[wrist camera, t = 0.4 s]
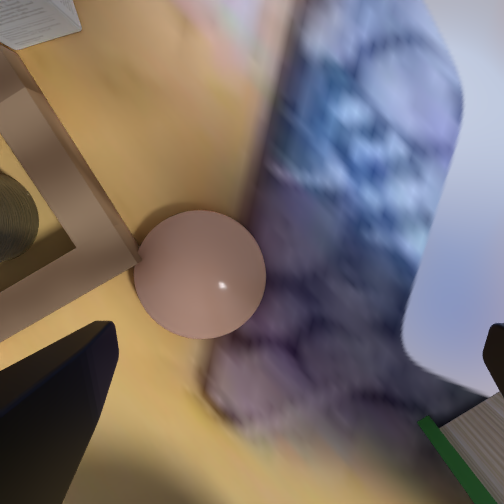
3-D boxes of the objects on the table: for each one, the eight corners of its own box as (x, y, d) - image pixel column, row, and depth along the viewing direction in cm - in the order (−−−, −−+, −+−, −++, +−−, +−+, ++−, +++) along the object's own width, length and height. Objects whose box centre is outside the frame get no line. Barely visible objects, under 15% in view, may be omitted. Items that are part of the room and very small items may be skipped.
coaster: (251, 344, 23) (251, 349, 23) (129, 321, 23) (125, 325, 22) (277, 224, 22) (278, 225, 21) (147, 197, 22) (144, 198, 21)
